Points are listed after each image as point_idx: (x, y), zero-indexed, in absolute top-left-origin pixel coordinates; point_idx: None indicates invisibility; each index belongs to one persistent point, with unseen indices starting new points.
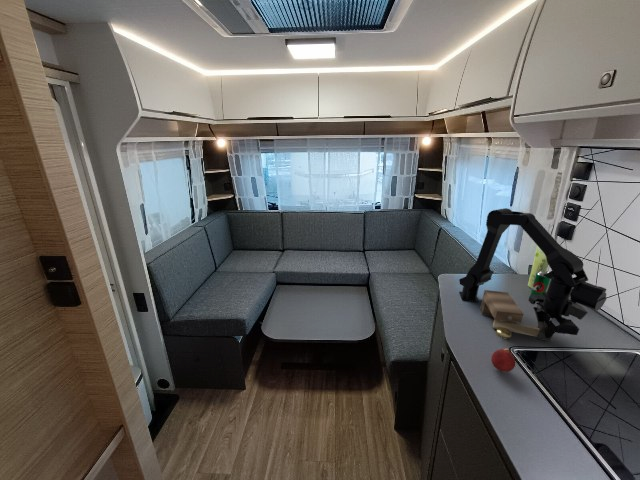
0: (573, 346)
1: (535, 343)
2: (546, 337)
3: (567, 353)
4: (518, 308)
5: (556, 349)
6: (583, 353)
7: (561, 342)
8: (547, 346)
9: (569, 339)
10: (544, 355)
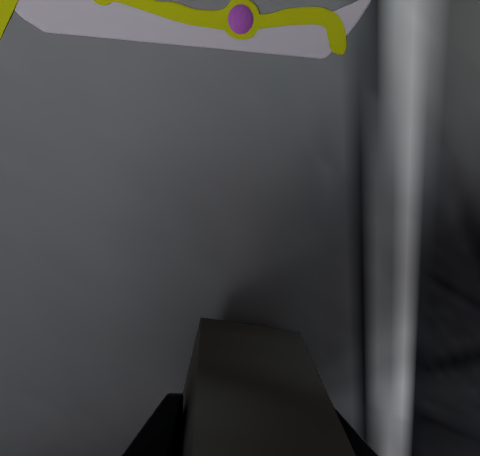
0: (345, 102)
1: None
2: None
3: (453, 246)
4: None
5: (394, 315)
6: (468, 60)
7: (281, 204)
8: (353, 369)
9: (206, 59)
10: (460, 437)
